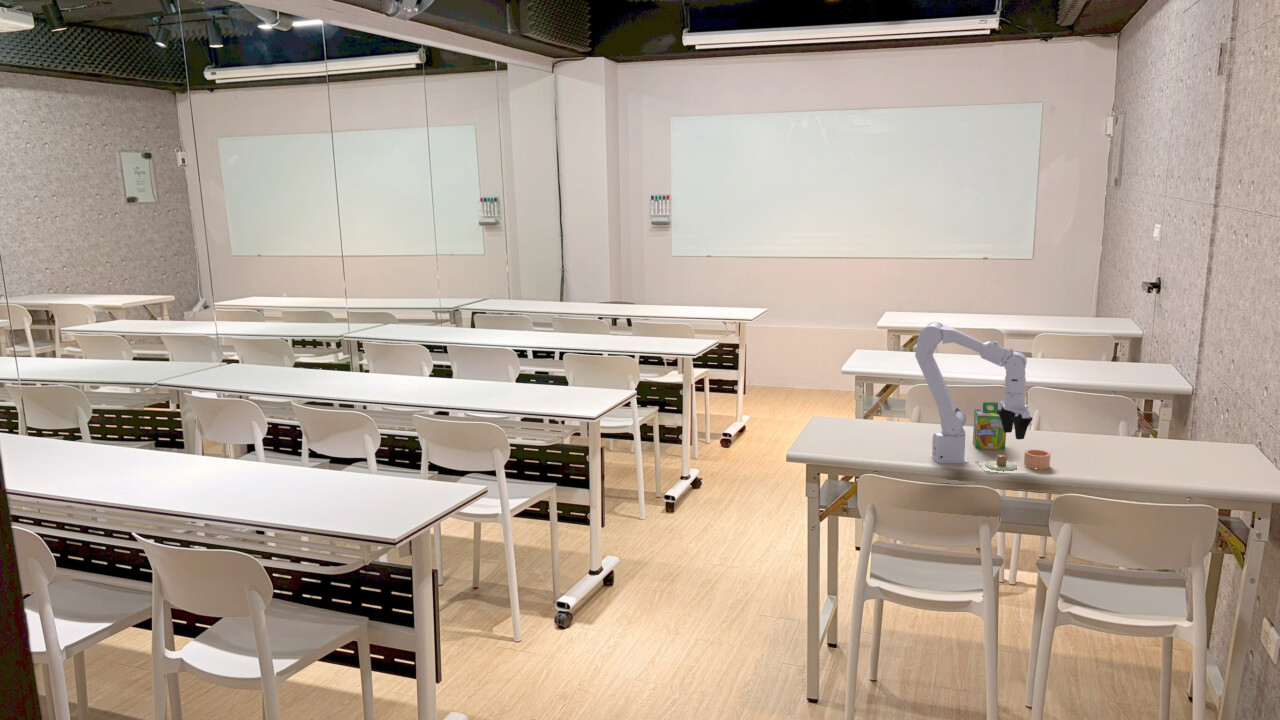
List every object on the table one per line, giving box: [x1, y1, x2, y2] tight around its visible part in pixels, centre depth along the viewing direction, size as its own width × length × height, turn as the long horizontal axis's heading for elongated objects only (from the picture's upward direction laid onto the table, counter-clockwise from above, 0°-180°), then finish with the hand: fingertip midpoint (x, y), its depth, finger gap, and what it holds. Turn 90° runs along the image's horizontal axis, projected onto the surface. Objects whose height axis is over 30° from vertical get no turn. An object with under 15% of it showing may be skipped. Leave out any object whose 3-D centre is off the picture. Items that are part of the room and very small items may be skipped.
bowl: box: [1023, 449, 1052, 470], centre depth 261 cm, size 7×7×4 cm
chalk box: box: [972, 401, 1007, 451], centre depth 282 cm, size 9×9×15 cm
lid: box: [985, 454, 1017, 472], centre depth 261 cm, size 9×9×4 cm
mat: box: [976, 461, 1007, 475], centre depth 261 cm, size 12×12×1 cm
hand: (1013, 435), depth 261 cm, fingers open, 7 cm apart
